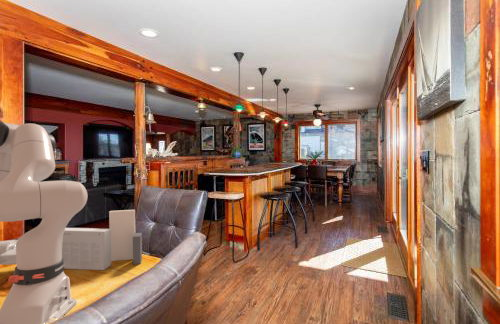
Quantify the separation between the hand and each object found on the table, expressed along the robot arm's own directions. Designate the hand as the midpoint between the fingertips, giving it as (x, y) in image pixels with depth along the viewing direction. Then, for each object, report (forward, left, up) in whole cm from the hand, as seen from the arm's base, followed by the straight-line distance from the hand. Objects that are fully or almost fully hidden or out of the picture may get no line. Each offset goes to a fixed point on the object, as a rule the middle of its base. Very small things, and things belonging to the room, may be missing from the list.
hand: (48, 248), depth 111 cm
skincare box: (0, -13, -9) cm, 16 cm away
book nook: (+1, -29, -9) cm, 30 cm away
